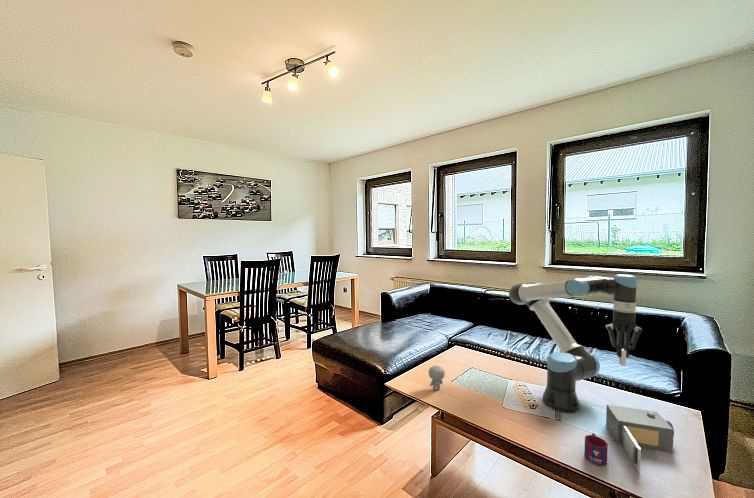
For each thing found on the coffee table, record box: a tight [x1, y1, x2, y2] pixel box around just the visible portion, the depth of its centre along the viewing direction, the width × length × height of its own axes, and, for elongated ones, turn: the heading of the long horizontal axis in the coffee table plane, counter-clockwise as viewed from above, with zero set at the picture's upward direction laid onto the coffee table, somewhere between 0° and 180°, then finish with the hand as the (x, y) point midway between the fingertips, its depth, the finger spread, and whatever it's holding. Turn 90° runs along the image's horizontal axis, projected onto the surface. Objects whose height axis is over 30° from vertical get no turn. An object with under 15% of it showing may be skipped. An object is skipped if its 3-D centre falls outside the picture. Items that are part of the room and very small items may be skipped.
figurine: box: [428, 365, 446, 391], centre depth 161 cm, size 8×8×12 cm
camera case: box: [605, 404, 675, 454], centre depth 122 cm, size 19×12×10 cm, turn 71°
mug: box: [583, 433, 609, 467], centre depth 113 cm, size 7×10×7 cm
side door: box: [621, 425, 642, 471], centre depth 112 cm, size 14×2×8 cm, turn 159°
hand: (622, 364), depth 134 cm, fingers closed
